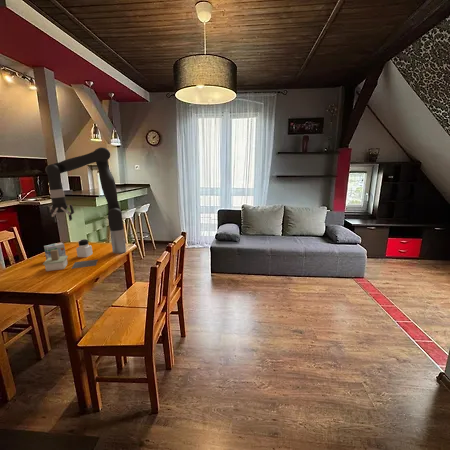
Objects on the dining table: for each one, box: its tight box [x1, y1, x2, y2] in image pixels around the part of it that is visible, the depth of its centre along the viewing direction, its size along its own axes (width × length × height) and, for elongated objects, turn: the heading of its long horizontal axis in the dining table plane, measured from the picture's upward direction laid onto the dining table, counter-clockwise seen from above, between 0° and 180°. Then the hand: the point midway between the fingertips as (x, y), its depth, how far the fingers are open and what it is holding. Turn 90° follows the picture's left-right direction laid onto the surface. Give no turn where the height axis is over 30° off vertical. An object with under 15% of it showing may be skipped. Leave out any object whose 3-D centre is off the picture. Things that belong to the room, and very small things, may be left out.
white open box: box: [44, 258, 68, 272], centre depth 161 cm, size 10×10×5 cm
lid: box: [42, 249, 69, 266], centre depth 159 cm, size 11×11×7 cm
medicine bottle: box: [75, 238, 93, 258], centre depth 181 cm, size 7×7×12 cm
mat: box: [70, 258, 99, 270], centre depth 166 cm, size 14×12×1 cm
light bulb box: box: [43, 241, 67, 261], centre depth 176 cm, size 11×7×11 cm, turn 143°
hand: (62, 221), depth 164 cm, fingers open, 8 cm apart
